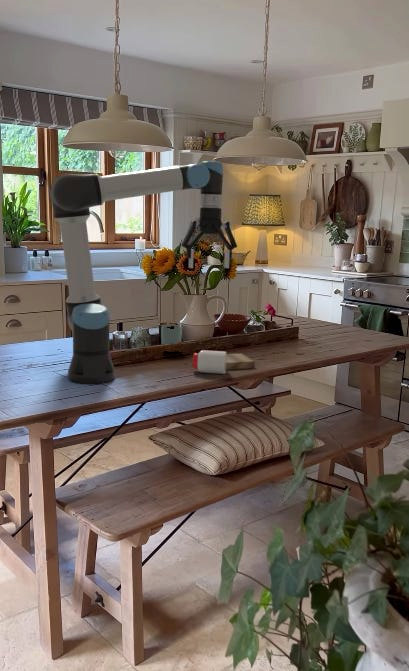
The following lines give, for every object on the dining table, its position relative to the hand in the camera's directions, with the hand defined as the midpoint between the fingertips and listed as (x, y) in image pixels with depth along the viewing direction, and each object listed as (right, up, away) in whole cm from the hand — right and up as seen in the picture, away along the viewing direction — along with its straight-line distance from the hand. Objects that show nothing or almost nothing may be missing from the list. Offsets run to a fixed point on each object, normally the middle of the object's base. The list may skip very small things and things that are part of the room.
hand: (208, 267), depth 218 cm
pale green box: (-15, -31, +21) cm, 40 cm away
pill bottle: (+6, -34, -9) cm, 35 cm away
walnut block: (+9, -35, +5) cm, 37 cm away
